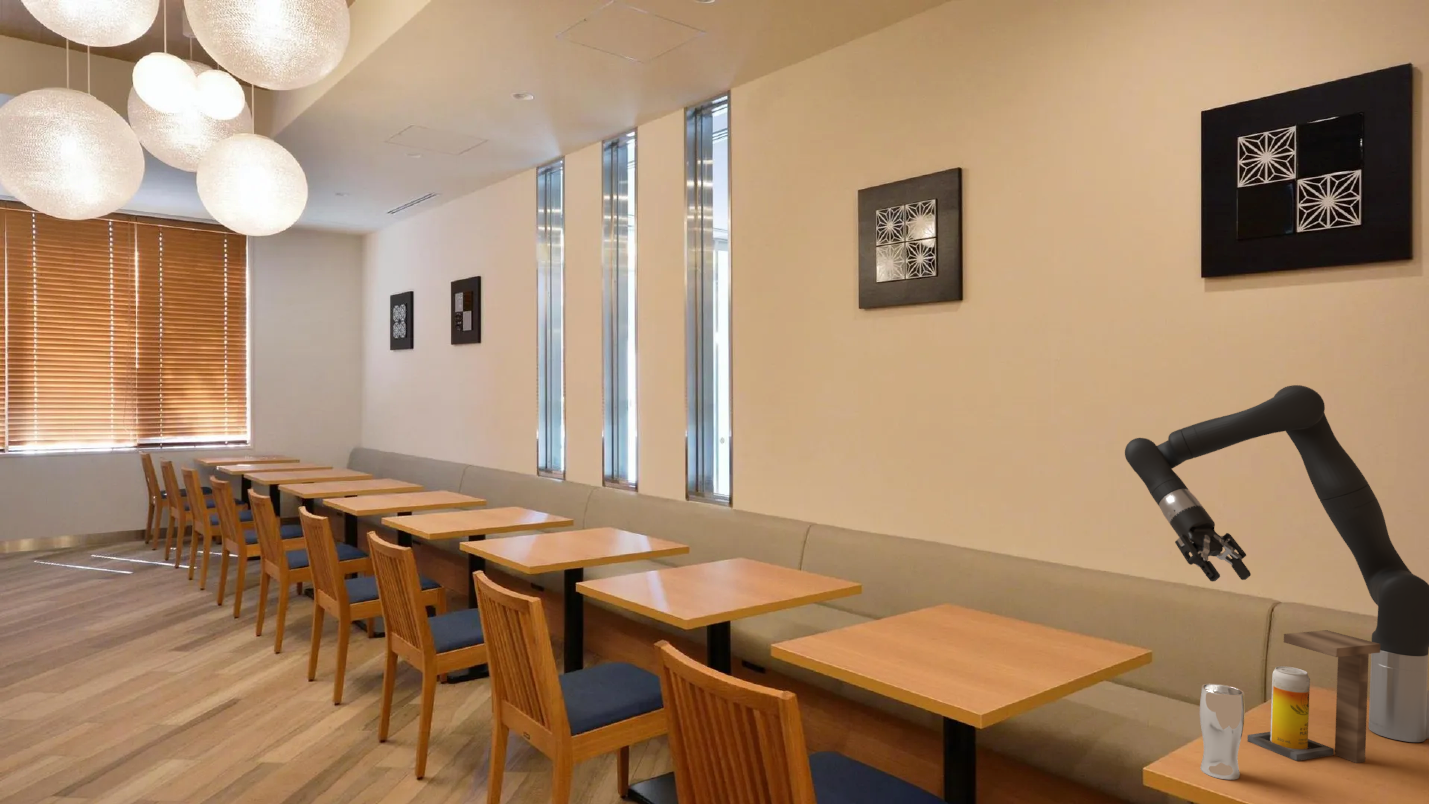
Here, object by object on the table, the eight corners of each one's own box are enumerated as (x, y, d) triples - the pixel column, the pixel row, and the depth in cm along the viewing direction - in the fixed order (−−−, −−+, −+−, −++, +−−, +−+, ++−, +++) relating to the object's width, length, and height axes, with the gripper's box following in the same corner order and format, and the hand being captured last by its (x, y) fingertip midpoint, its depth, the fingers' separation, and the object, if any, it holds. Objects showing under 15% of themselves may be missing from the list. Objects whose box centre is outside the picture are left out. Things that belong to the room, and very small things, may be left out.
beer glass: (1239, 784, 153) (1242, 698, 153) (1194, 773, 158) (1197, 689, 158) (1244, 772, 159) (1247, 688, 159) (1201, 761, 163) (1203, 680, 163)
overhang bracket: (1293, 734, 179) (1296, 622, 179) (1376, 765, 164) (1380, 643, 164) (1247, 741, 174) (1251, 626, 174) (1328, 774, 159) (1332, 648, 159)
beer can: (1308, 756, 167) (1310, 677, 167) (1270, 748, 171) (1272, 671, 171) (1306, 746, 173) (1309, 669, 173) (1269, 739, 176) (1272, 663, 176)
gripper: (1171, 504, 187) (1217, 569, 176) (1221, 503, 192) (1269, 566, 181) (1150, 526, 192) (1194, 590, 181) (1199, 524, 197) (1244, 587, 186)
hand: (1231, 578), depth 181 cm, fingers open, 8 cm apart
